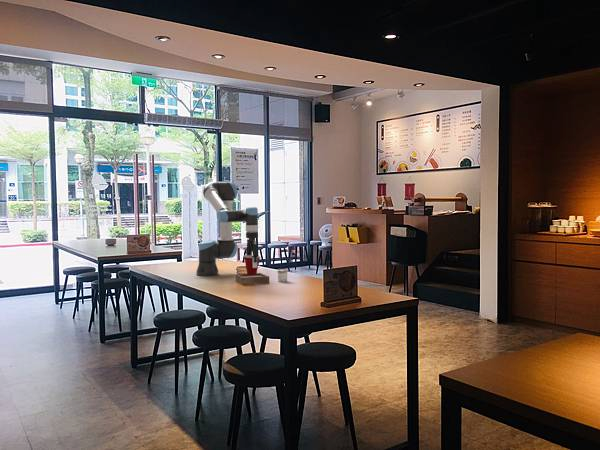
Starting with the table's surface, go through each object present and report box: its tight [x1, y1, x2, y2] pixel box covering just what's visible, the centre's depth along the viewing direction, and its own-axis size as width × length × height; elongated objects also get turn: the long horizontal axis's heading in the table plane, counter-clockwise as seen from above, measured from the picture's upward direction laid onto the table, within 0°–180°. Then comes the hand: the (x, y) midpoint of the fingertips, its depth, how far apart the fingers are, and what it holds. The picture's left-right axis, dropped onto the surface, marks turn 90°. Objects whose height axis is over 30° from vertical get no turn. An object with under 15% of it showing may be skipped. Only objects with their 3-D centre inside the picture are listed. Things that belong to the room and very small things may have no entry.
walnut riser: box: [235, 272, 270, 286], centre depth 323 cm, size 17×17×4 cm
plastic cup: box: [243, 254, 262, 275], centre depth 322 cm, size 11×11×12 cm
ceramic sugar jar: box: [277, 269, 288, 283], centre depth 326 cm, size 7×7×7 cm
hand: (252, 266), depth 322 cm, fingers closed on plastic cup, 11 cm apart
